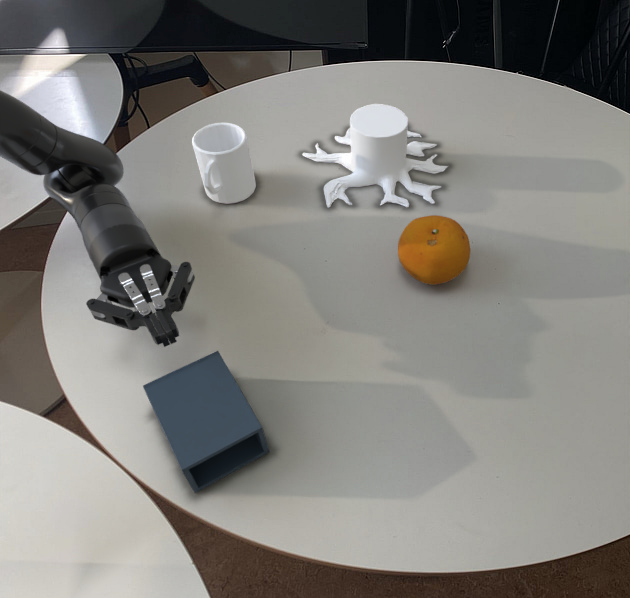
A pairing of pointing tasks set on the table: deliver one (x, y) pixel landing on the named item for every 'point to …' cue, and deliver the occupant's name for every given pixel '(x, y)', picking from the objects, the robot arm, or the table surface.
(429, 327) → the table surface
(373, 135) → the white tree stump
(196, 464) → the bin
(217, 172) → the mug
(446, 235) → the fruit
